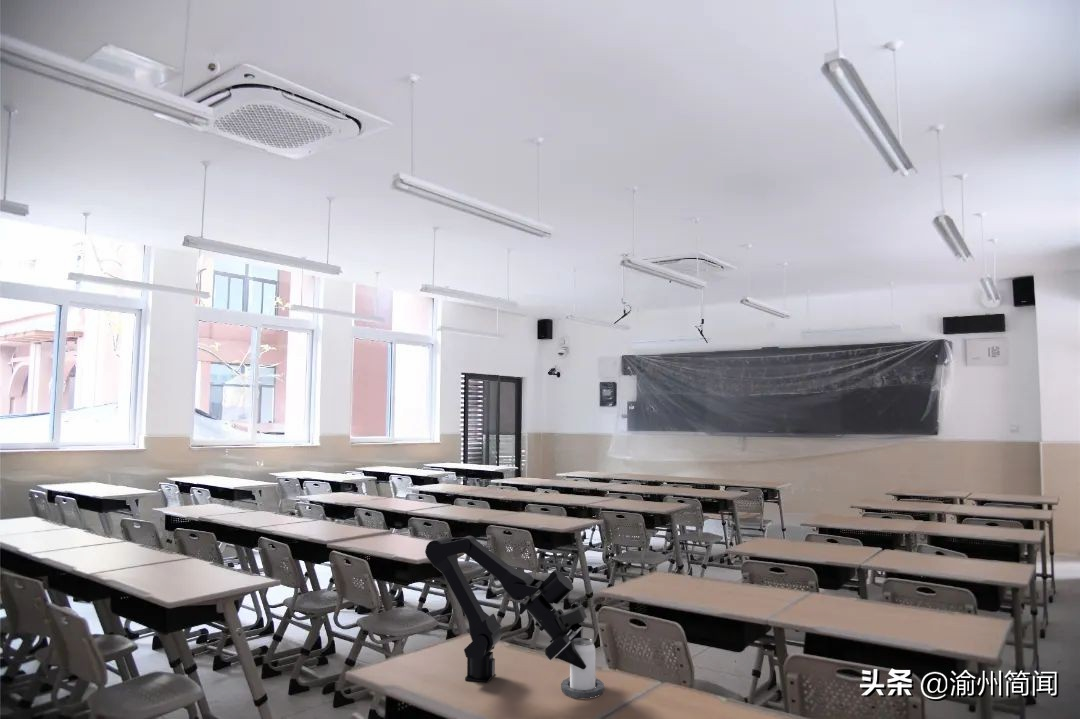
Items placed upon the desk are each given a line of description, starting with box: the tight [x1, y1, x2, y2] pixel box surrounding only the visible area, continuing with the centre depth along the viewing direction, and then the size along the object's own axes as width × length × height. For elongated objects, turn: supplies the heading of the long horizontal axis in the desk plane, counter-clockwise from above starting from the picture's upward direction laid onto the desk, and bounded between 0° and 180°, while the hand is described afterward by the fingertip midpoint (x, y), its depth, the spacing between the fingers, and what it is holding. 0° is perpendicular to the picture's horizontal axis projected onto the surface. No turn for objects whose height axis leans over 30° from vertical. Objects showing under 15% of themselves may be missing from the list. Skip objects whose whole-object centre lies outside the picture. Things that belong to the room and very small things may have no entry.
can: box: [569, 637, 596, 690], centre depth 176 cm, size 6×6×12 cm
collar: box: [560, 676, 605, 699], centre depth 175 cm, size 10×10×2 cm
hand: (588, 663), depth 175 cm, fingers closed on can, 6 cm apart
